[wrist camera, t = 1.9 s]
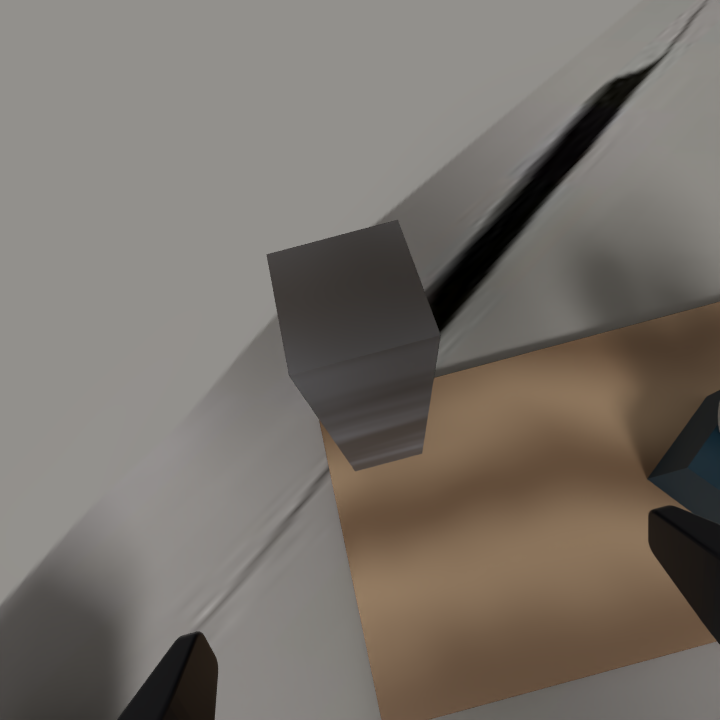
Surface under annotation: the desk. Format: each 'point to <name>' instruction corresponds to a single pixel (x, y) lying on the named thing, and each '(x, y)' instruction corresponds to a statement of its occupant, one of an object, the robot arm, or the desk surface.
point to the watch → (695, 463)
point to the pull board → (490, 481)
